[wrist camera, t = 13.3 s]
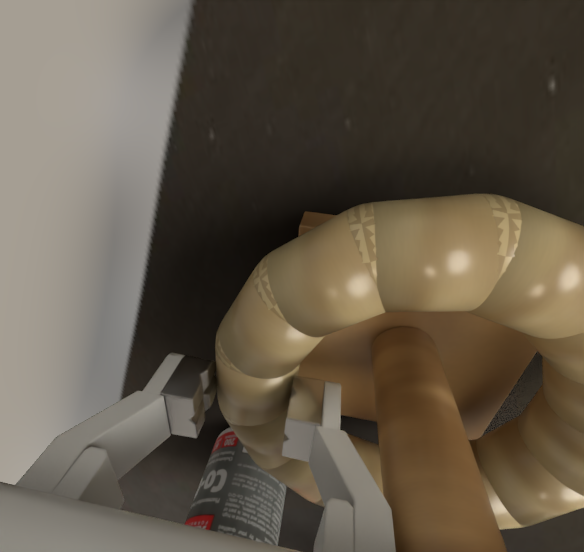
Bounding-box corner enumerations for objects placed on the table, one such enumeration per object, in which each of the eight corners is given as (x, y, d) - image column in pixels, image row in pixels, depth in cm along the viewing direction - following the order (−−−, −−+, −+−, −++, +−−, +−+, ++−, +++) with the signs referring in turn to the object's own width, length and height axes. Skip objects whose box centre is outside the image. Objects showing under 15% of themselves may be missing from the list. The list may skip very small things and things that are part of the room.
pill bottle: (231, 411, 18) (156, 618, 11) (304, 442, 19) (277, 660, 12) (208, 450, 21) (135, 640, 14) (274, 477, 21) (236, 674, 14)
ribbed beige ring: (766, 217, 8) (958, 275, 5) (513, 498, 14) (545, 579, 12) (230, 149, 9) (184, 171, 6) (233, 437, 16) (211, 500, 13)
